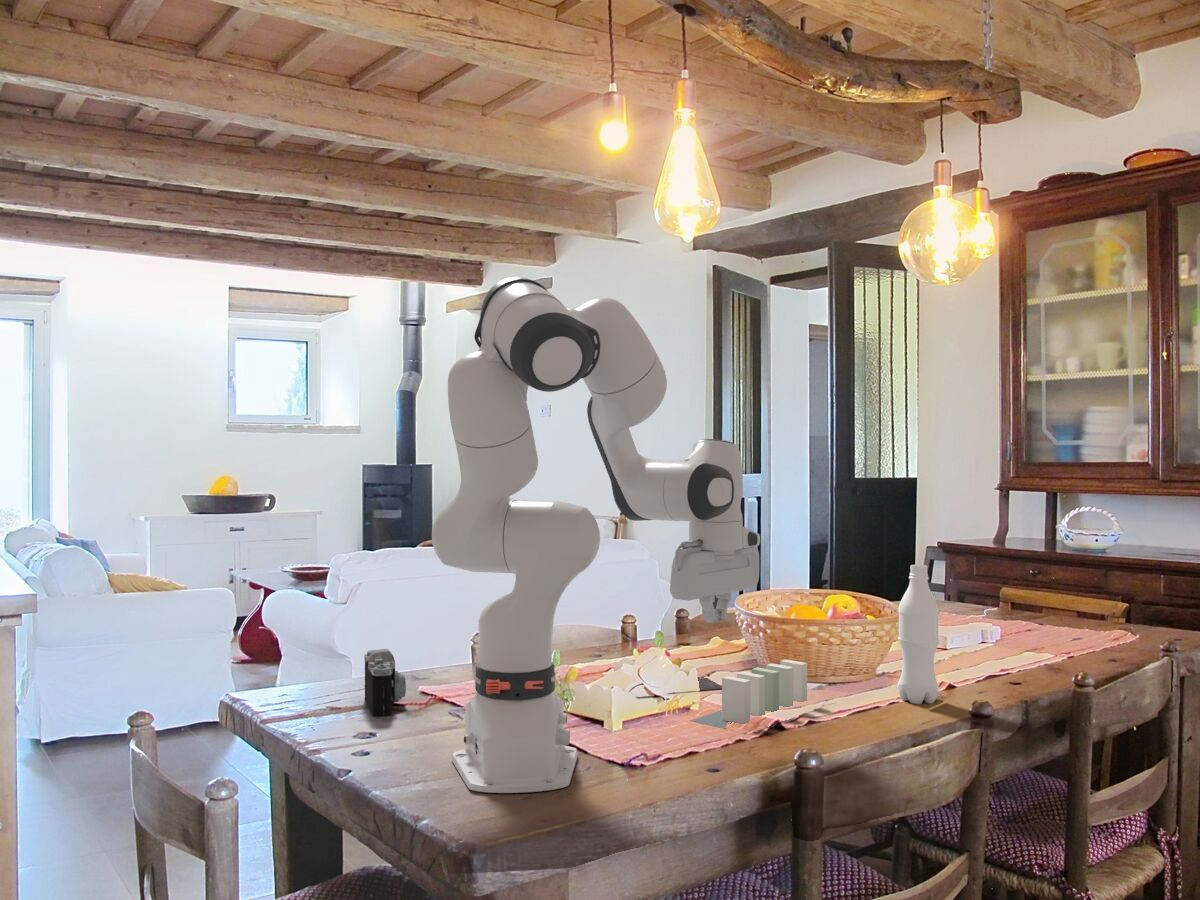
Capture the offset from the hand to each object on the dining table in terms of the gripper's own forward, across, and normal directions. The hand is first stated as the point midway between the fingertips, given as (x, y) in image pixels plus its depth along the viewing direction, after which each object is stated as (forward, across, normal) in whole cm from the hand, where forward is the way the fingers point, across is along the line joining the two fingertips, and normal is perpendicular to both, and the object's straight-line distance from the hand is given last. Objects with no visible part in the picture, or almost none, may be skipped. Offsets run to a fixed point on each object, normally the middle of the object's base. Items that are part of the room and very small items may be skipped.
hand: (715, 621), depth 172 cm
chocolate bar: (+19, +17, +23) cm, 34 cm away
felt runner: (+18, +15, 0) cm, 24 cm away
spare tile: (+18, +15, 0) cm, 23 cm away
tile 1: (+18, +6, 0) cm, 19 cm away
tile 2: (+18, +10, 0) cm, 21 cm away
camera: (+18, -28, +52) cm, 62 cm away
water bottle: (+18, +41, -16) cm, 47 cm away
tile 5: (+18, +24, 0) cm, 30 cm away
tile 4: (+18, +20, 0) cm, 26 cm away
